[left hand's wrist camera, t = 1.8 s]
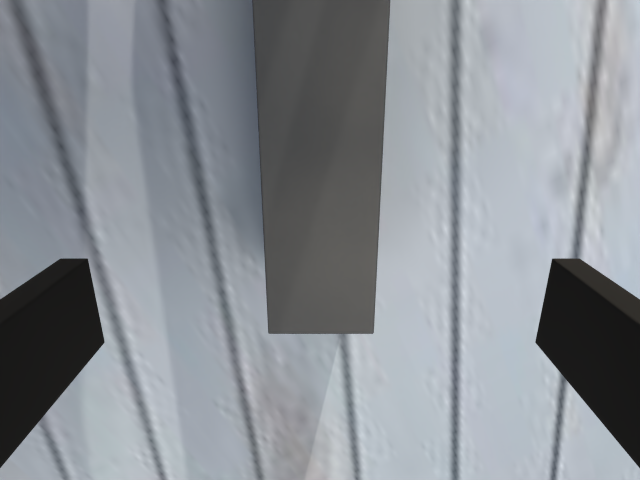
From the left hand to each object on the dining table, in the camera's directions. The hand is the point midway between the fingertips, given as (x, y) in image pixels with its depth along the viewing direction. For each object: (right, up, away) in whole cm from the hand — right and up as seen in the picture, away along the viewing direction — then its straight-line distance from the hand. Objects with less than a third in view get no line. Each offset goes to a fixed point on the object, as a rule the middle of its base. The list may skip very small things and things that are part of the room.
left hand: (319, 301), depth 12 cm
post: (0, +25, +7) cm, 26 cm away
